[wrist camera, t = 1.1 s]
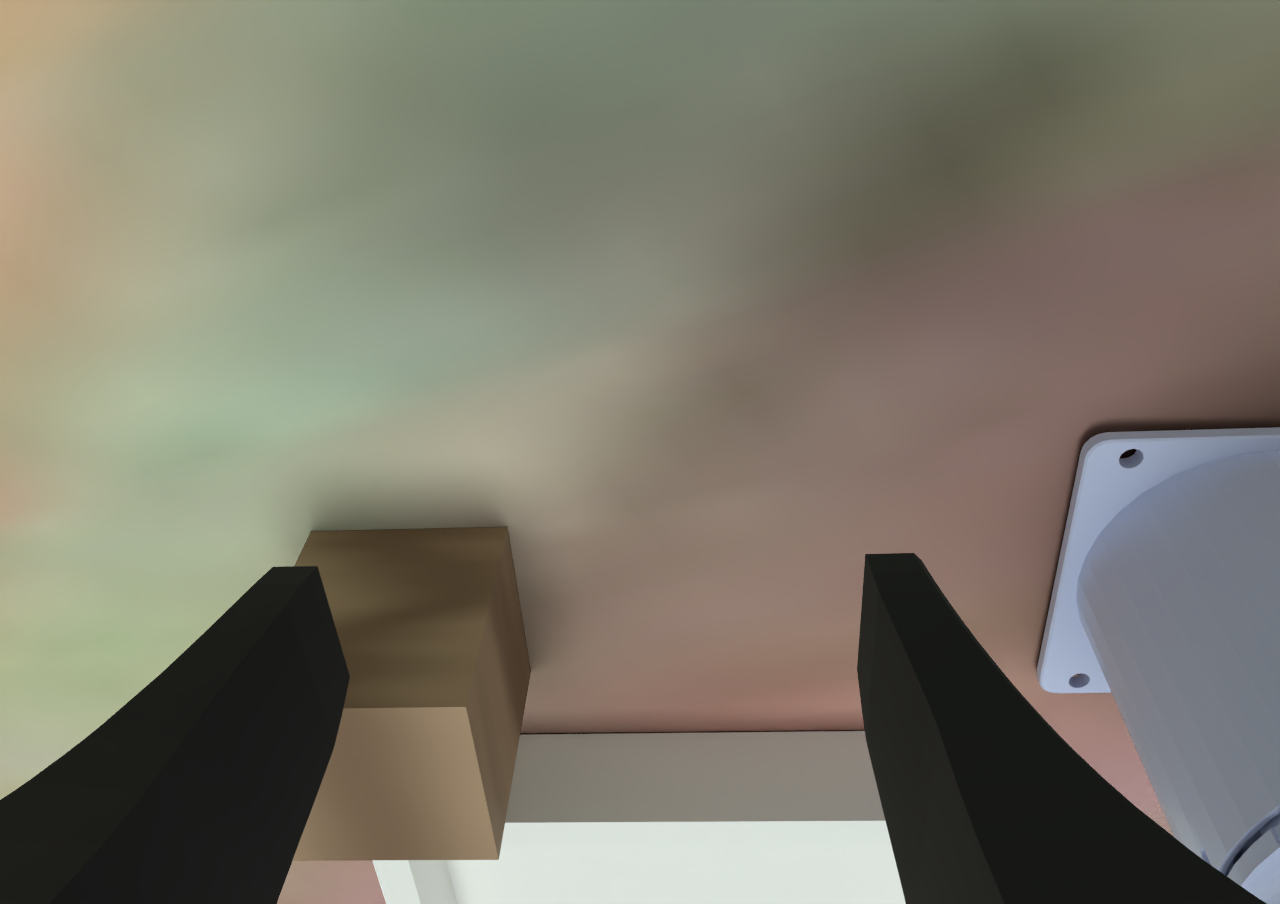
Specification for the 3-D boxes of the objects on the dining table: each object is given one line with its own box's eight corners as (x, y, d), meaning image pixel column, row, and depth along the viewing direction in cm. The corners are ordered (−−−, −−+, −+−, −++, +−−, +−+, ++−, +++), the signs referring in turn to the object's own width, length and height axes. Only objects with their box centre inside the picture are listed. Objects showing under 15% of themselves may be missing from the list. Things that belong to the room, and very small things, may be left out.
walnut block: (507, 525, 27) (465, 707, 22) (530, 669, 30) (498, 859, 25) (311, 530, 27) (225, 710, 22) (352, 672, 30) (284, 861, 25)
